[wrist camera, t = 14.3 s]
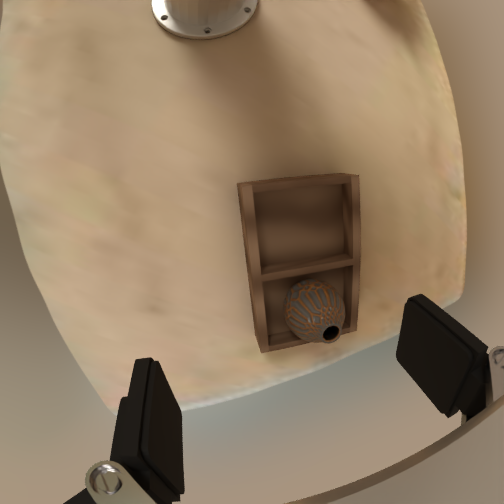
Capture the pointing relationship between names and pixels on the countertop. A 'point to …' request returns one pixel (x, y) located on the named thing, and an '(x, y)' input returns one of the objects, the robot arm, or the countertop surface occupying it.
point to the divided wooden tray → (299, 246)
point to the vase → (314, 311)
